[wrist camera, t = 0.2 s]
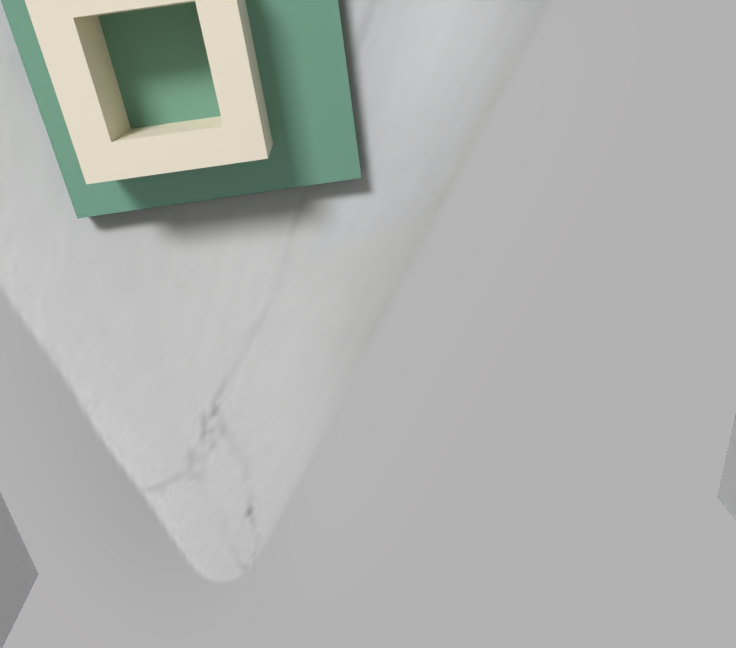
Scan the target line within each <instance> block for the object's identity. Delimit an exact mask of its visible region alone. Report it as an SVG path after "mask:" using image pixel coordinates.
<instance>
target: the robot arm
mask: <svg viewBox="0 0 736 648" xmlns="http://www.w3.org/2000/svg"><path fill="white" fill-rule="evenodd" d="M718 498H719V499H720V501H721V502H722V503H723V505H724V506H725V507H726V508H727V510H728V511H729V512H730V514H731V515H732V516H733V517H734V519H735V520H736V416H735V420H734V425H733V429H732V434H731V439H730V443H729V448H728V452H727V457H726V461H725V466H724V470H723V475H722V479H721V484H720V489H719V493H718ZM37 576H38V572H37V570H36V568H35V566H34V564H33V561H32V559H31V557H30V555H29V553H28V551H27V549H26V546H25V544H24V542H23V540H22V538H21V536H20V534H19V532H18V529H17V527H16V525H15V523H14V521H13V519H12V516H11V514H10V512H9V510H8V508H7V506H6V504H5V501H4V499H3V497H2V495H1V493H0V648H2V647H3V644H4V643H5V641H6V639H7V637H8V634H9V633H10V631H11V629H12V627H13V625H14V623H15V621H16V619H17V617H18V615H19V612H20V611H21V608H22V607H23V604H24V602H25V600H26V598H27V596H28V594H29V592H30V590H31V588H32V586H33V584H34V582H35V580H36V578H37Z"/></svg>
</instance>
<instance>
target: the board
mask: <svg viewBox="0 0 736 648" xmlns="http://www.w3.org/2000/svg"><path fill="white" fill-rule="evenodd" d="M1 2H2V5H3V7H4V10H5V13H6V16H7V19H8V22H9V25H10V27H11V30H12V33H13V36H14V39H15V42H16V45H17V47H18V50H19V53H20V56H21V59H22V62H23V64H24V67H25V70H26V73H27V76H28V79H29V82H30V84H31V87H32V90H33V93H34V96H35V99H36V101H37V104H38V107H39V110H40V113H41V116H42V119H43V121H44V124H45V127H46V130H47V133H48V136H49V139H50V141H51V144H52V147H53V150H54V153H55V156H56V158H57V161H58V164H59V167H60V170H61V173H62V176H63V178H64V181H65V184H66V187H67V190H68V193H69V195H70V198H71V201H72V204H73V207H74V210H75V213H76V215H77V218H83V217H91V216H98V215H105V214H112V213H119V212H126V211H133V210H140V209H147V208H154V207H161V206H168V205H175V204H182V203H189V202H196V201H203V200H210V199H217V198H224V197H231V196H238V195H245V194H252V193H260V192H267V191H274V190H281V189H288V188H295V187H302V186H309V185H316V184H323V183H330V182H337V181H344V180H351V179H358V178H361V170H360V162H359V155H358V147H357V140H356V132H355V124H354V117H353V109H352V102H351V94H350V87H349V79H348V71H347V64H346V56H345V49H344V41H343V33H342V26H341V18H340V11H339V3H338V0H1Z"/></svg>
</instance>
